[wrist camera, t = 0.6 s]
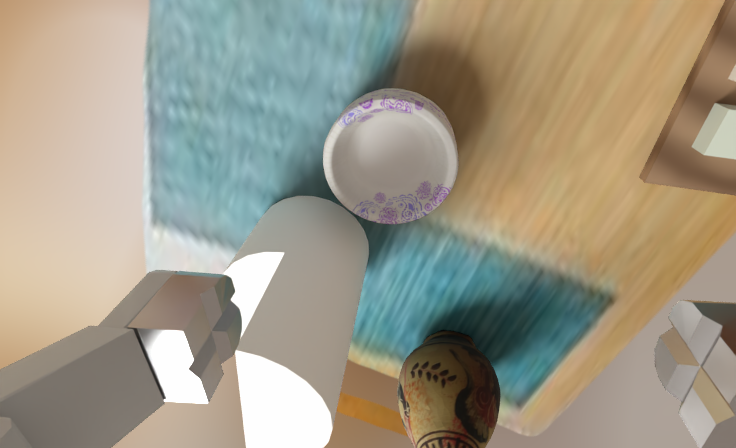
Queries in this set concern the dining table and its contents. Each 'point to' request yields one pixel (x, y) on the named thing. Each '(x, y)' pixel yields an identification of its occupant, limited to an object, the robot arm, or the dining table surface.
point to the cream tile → (733, 74)
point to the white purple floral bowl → (391, 156)
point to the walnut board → (699, 117)
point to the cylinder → (296, 319)
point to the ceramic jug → (448, 393)
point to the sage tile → (718, 133)
